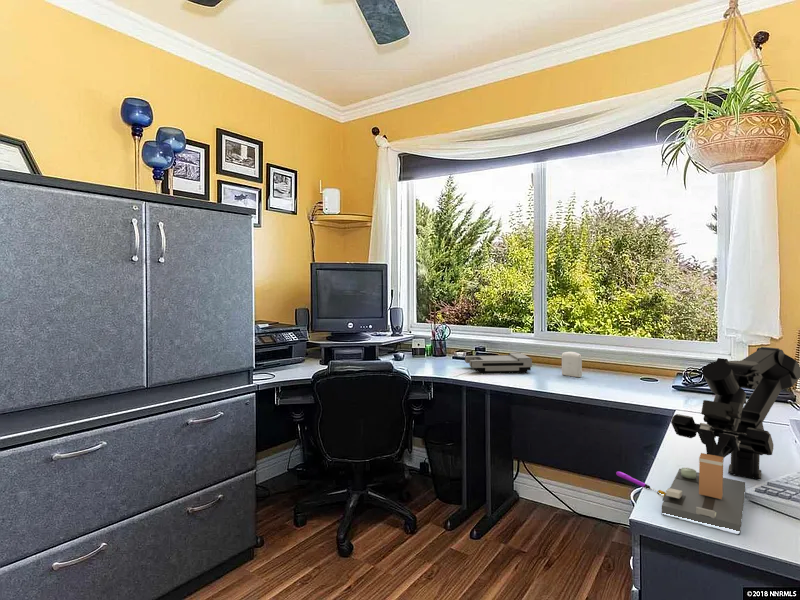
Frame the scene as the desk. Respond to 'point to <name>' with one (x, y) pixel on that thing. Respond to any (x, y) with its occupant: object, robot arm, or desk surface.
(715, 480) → the fader knob
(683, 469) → the push button
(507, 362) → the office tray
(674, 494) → the block
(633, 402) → the desk surface
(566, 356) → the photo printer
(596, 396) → the desk surface
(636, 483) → the purple screwdriver
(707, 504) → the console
